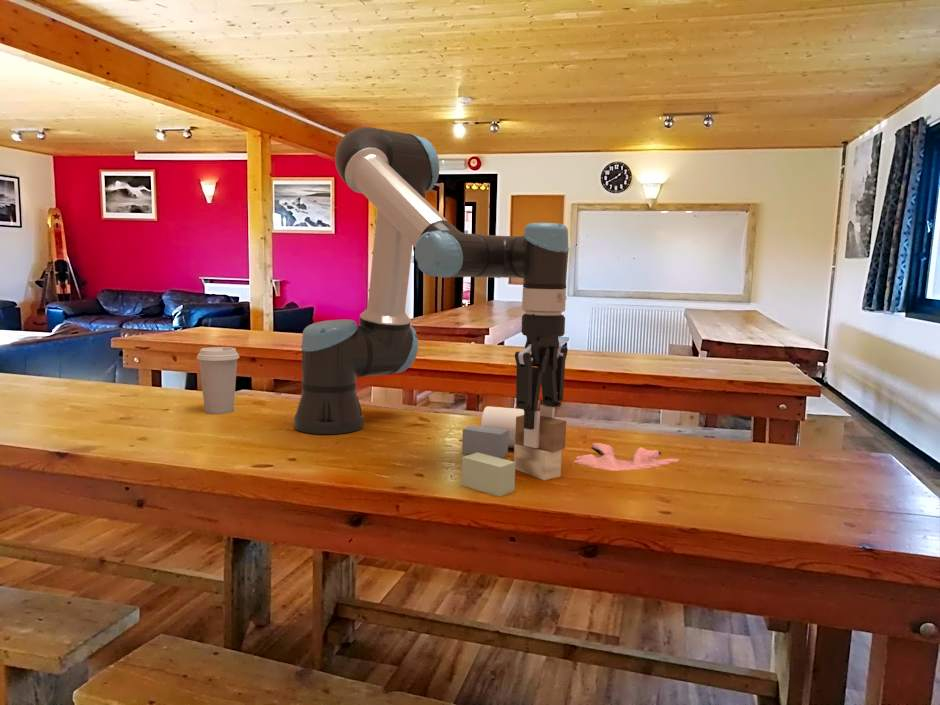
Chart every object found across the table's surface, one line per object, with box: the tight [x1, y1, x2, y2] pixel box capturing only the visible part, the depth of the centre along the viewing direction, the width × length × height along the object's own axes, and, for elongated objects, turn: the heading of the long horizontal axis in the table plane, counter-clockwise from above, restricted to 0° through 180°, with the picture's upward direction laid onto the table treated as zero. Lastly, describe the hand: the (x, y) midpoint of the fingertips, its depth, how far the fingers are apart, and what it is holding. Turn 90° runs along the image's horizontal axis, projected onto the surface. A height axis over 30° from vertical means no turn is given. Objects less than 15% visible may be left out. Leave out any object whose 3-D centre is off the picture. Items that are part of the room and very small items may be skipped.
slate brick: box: [461, 424, 509, 459], centre depth 133 cm, size 8×4×5 cm, turn 65°
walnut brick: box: [515, 415, 567, 453], centre depth 121 cm, size 8×4×5 cm, turn 51°
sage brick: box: [461, 452, 516, 498], centre depth 112 cm, size 8×4×5 cm, turn 51°
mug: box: [480, 405, 524, 449], centre depth 140 cm, size 12×10×8 cm
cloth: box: [573, 442, 680, 471], centre depth 134 cm, size 20×22×2 cm
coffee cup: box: [196, 346, 240, 415], centre depth 162 cm, size 10×10×15 cm
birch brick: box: [513, 444, 563, 481], centre depth 122 cm, size 8×4×5 cm, turn 38°
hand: (538, 443), depth 121 cm, fingers closed on walnut brick, 4 cm apart
